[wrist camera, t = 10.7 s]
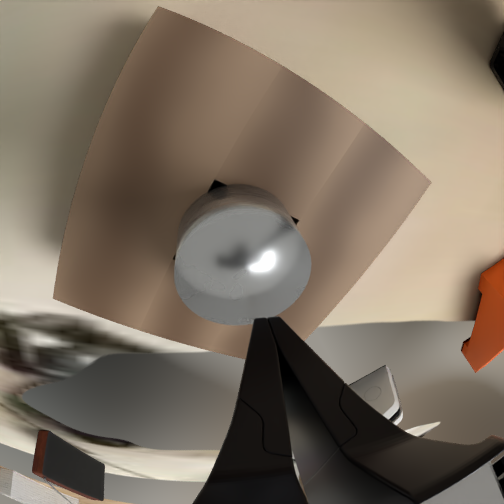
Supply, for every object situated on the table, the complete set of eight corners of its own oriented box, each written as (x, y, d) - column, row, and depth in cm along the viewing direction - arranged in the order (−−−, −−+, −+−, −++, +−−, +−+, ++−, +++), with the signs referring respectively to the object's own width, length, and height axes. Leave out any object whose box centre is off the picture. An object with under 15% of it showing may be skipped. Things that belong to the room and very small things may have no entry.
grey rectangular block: (79, 498, 72) (78, 521, 64) (63, 496, 73) (62, 518, 64) (13, 470, 55) (10, 496, 46) (0, 467, 55) (-3, 491, 46)
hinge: (290, 428, 40) (294, 481, 30) (273, 411, 39) (274, 467, 29) (393, 377, 37) (418, 427, 27) (383, 356, 36) (409, 408, 26)
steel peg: (289, 182, 19) (336, 248, 12) (244, 251, 21) (266, 336, 15) (208, 140, 16) (213, 189, 10) (167, 220, 19) (154, 303, 12)
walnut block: (387, 155, 19) (431, 182, 15) (266, 318, 25) (279, 366, 21) (170, 24, 13) (157, 6, 8) (76, 251, 19) (53, 298, 15)
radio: (37, 429, 34) (27, 505, 22) (48, 429, 34) (39, 509, 22) (99, 467, 45) (97, 529, 33) (110, 467, 45) (110, 531, 33)
